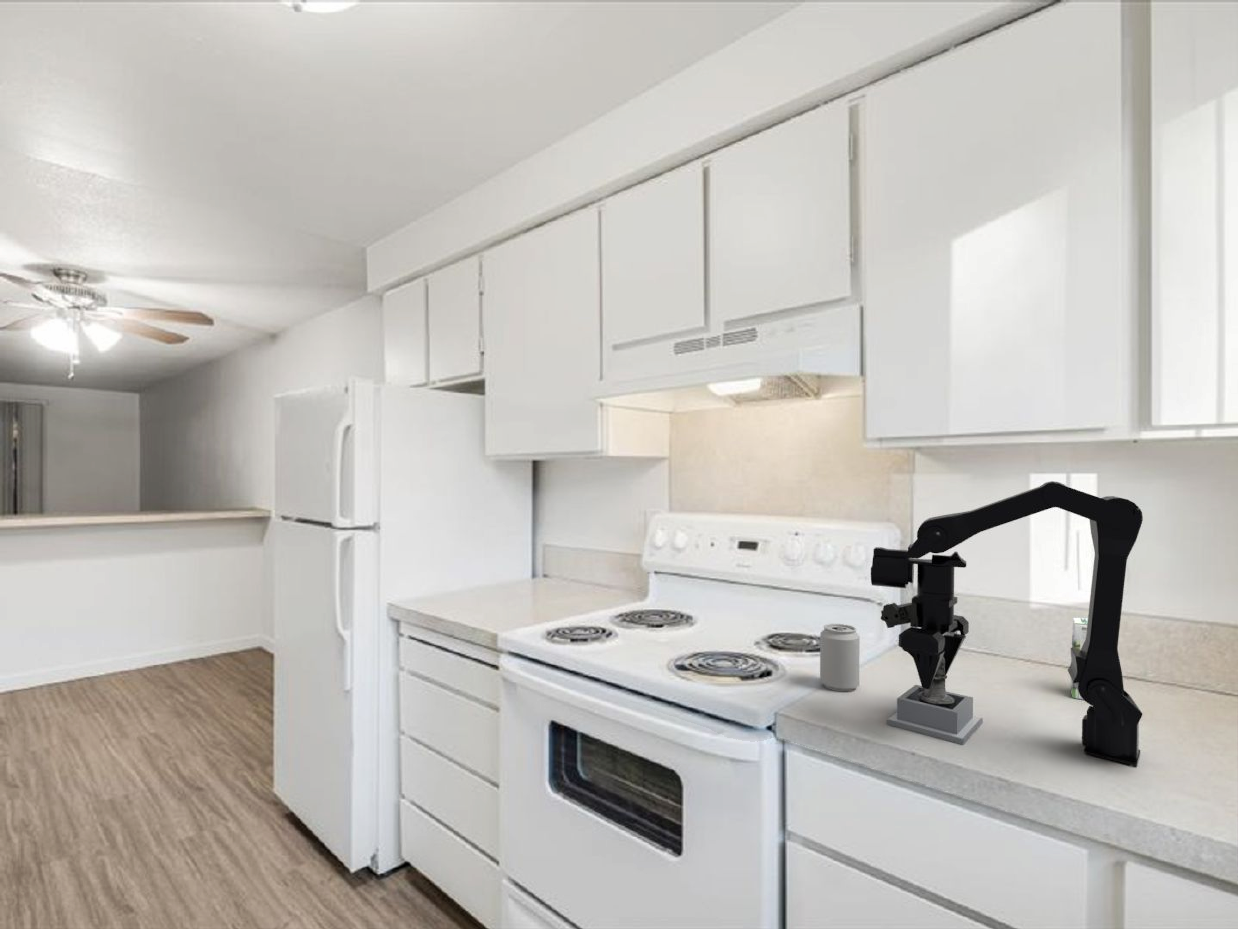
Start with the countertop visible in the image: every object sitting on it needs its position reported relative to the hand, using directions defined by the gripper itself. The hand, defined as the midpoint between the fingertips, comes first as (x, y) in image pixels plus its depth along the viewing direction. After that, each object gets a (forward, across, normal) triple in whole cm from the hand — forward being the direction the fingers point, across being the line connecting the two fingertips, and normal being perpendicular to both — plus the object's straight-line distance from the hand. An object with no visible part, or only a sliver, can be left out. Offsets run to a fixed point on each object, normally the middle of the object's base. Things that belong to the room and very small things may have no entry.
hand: (934, 681), depth 114 cm
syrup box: (+7, -34, +18) cm, 39 cm away
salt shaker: (+6, 0, 0) cm, 7 cm away
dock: (+7, 0, 0) cm, 7 cm away
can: (+7, -7, -20) cm, 22 cm away
